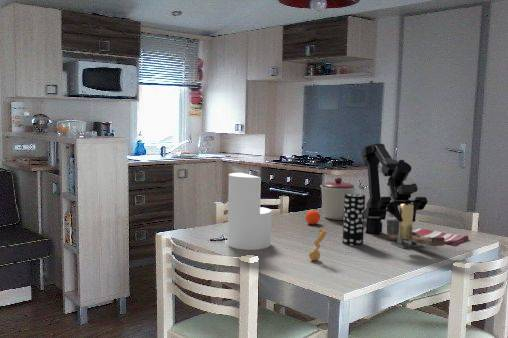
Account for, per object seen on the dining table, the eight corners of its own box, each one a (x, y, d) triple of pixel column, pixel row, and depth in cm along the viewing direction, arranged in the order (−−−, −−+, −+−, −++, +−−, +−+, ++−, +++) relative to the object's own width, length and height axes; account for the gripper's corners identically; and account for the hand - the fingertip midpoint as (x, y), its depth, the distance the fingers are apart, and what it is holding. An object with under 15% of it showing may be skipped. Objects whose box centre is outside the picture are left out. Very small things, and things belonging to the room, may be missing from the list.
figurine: (313, 257, 191) (314, 225, 190) (329, 259, 188) (330, 227, 187) (304, 262, 184) (306, 229, 182) (320, 265, 181) (322, 231, 179)
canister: (315, 214, 273) (316, 175, 270) (348, 214, 275) (350, 175, 272) (323, 221, 255) (325, 179, 252) (359, 221, 257) (361, 179, 254)
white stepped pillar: (239, 251, 196) (240, 178, 193) (220, 241, 212) (221, 173, 209) (278, 247, 204) (280, 176, 201) (258, 237, 219) (259, 171, 217)
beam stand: (390, 243, 213) (391, 231, 213) (411, 242, 217) (411, 230, 216) (403, 248, 206) (403, 235, 205) (423, 246, 209) (424, 234, 209)
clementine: (301, 224, 247) (302, 209, 246) (305, 222, 253) (306, 207, 253) (317, 226, 244) (318, 211, 243) (321, 223, 251) (322, 209, 250)
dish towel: (453, 247, 212) (454, 241, 212) (400, 237, 228) (401, 231, 228) (469, 240, 225) (469, 234, 224) (417, 231, 240) (418, 225, 240)
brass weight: (397, 238, 198) (399, 204, 197) (399, 235, 203) (400, 202, 201) (411, 239, 196) (413, 205, 195) (412, 236, 201) (414, 203, 199)
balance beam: (387, 236, 220) (386, 219, 220) (396, 235, 222) (396, 219, 222) (433, 246, 193) (433, 227, 193) (444, 245, 195) (444, 226, 195)
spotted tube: (364, 242, 216) (366, 194, 213) (361, 246, 208) (363, 197, 206) (344, 240, 218) (346, 193, 216) (340, 244, 210) (342, 195, 208)
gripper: (381, 175, 200) (390, 209, 190) (427, 176, 202) (438, 209, 192) (373, 192, 208) (381, 225, 199) (417, 193, 211) (427, 225, 201)
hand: (407, 221), depth 197 cm, fingers closed on brass weight, 5 cm apart
